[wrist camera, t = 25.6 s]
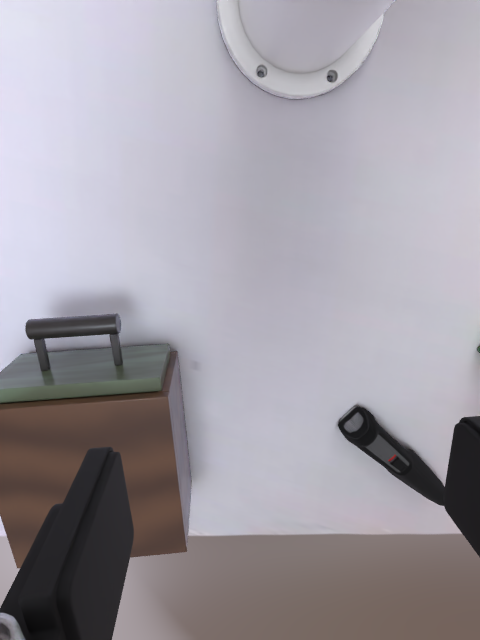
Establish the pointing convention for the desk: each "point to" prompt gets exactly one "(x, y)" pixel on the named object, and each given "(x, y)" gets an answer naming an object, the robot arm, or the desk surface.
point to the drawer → (82, 364)
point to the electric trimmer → (390, 453)
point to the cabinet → (94, 432)
